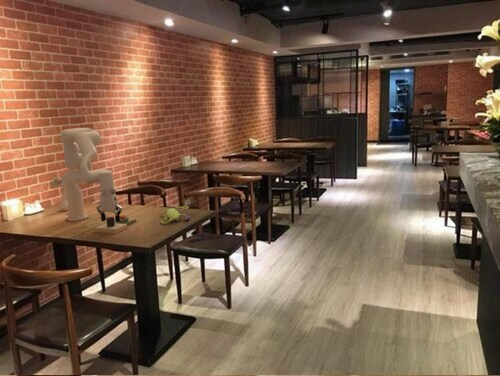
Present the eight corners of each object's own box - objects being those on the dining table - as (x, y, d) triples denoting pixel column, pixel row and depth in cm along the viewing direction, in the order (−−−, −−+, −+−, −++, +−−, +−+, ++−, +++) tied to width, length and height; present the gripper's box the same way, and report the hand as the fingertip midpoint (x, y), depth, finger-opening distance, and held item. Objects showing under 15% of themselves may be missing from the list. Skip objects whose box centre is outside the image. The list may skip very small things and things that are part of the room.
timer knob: (105, 226, 244) (104, 217, 243) (110, 224, 248) (109, 215, 247) (111, 227, 243) (110, 218, 242) (116, 225, 247) (115, 216, 246)
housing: (109, 225, 257) (109, 219, 256) (119, 220, 266) (119, 215, 266) (126, 226, 253) (125, 220, 253) (136, 221, 262) (135, 216, 262)
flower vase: (62, 207, 310) (58, 173, 306) (82, 208, 304) (78, 174, 299) (48, 211, 298) (43, 176, 294) (69, 213, 292) (64, 177, 287)
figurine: (188, 212, 282) (188, 204, 281) (191, 222, 256) (191, 213, 255) (160, 214, 279) (160, 206, 278) (160, 225, 253) (159, 216, 252)
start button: (118, 219, 258) (118, 216, 258) (121, 217, 261) (121, 214, 261) (123, 219, 257) (123, 216, 257) (126, 217, 260) (126, 215, 260)
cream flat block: (95, 232, 243) (94, 227, 243) (107, 226, 254) (107, 222, 253) (115, 233, 239) (115, 229, 238) (127, 228, 249) (126, 223, 248)
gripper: (124, 191, 243) (127, 220, 246) (99, 190, 248) (102, 219, 251) (116, 193, 236) (119, 223, 239) (90, 193, 241) (94, 222, 244)
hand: (110, 221), depth 245 cm, fingers open, 9 cm apart
